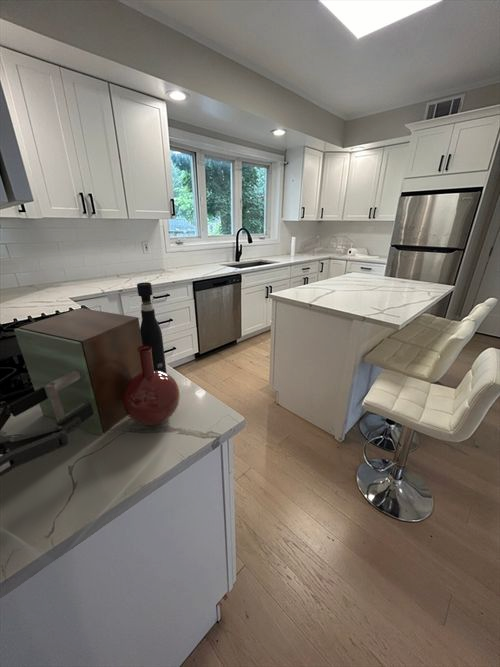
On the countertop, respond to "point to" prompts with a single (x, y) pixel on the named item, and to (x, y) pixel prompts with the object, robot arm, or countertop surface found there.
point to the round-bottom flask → (150, 393)
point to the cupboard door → (59, 376)
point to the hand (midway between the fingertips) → (67, 400)
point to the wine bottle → (151, 327)
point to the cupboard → (101, 353)
